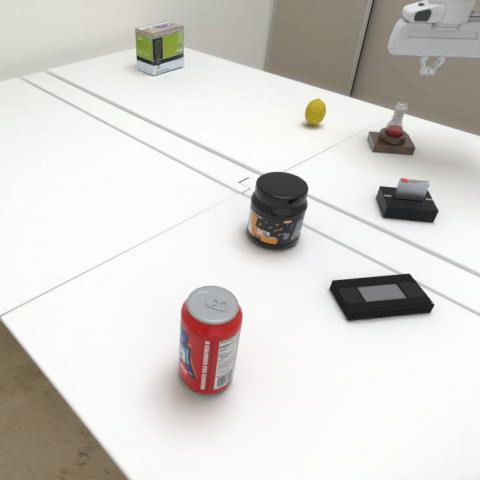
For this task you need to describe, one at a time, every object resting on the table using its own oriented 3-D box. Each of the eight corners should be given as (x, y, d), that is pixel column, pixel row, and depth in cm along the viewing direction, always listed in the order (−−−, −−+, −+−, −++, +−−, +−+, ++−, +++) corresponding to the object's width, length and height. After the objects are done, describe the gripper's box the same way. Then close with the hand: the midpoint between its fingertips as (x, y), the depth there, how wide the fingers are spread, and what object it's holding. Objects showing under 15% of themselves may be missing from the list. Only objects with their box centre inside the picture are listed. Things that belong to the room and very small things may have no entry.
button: (399, 131, 120) (401, 125, 119) (402, 137, 117) (404, 131, 116) (384, 130, 120) (386, 124, 119) (387, 136, 118) (389, 130, 117)
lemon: (301, 128, 130) (307, 100, 125) (303, 120, 134) (309, 93, 129) (321, 130, 129) (328, 103, 124) (323, 122, 133) (329, 96, 128)
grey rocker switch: (421, 197, 97) (428, 179, 94) (423, 201, 96) (430, 183, 93) (393, 194, 98) (400, 177, 95) (395, 198, 96) (402, 181, 94)
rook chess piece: (389, 126, 131) (398, 99, 126) (404, 131, 128) (414, 104, 123) (381, 130, 129) (390, 103, 124) (396, 136, 126) (406, 108, 121)
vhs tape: (328, 288, 80) (331, 280, 79) (405, 281, 81) (409, 273, 80) (347, 321, 74) (351, 312, 73) (430, 313, 75) (434, 304, 74)
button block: (405, 141, 123) (410, 127, 121) (412, 155, 117) (418, 141, 115) (366, 138, 125) (371, 124, 122) (372, 152, 119) (376, 138, 116)
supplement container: (235, 233, 92) (241, 182, 85) (268, 213, 97) (277, 164, 90) (276, 259, 86) (287, 207, 78) (310, 237, 91) (323, 185, 84)
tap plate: (423, 201, 101) (428, 189, 99) (433, 222, 95) (439, 210, 93) (375, 197, 102) (380, 185, 100) (382, 218, 96) (387, 205, 94)
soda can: (224, 406, 62) (235, 335, 53) (170, 387, 65) (172, 316, 55) (238, 361, 68) (250, 290, 59) (188, 346, 70) (192, 275, 61)
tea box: (166, 61, 177) (166, 19, 168) (184, 67, 171) (185, 25, 162) (136, 69, 169) (134, 26, 160) (153, 76, 163) (152, 32, 154)
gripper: (494, 8, 100) (469, 72, 109) (396, 6, 103) (378, 68, 112) (506, 15, 95) (478, 81, 104) (402, 13, 98) (384, 77, 107)
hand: (426, 74), depth 108 cm, fingers closed
